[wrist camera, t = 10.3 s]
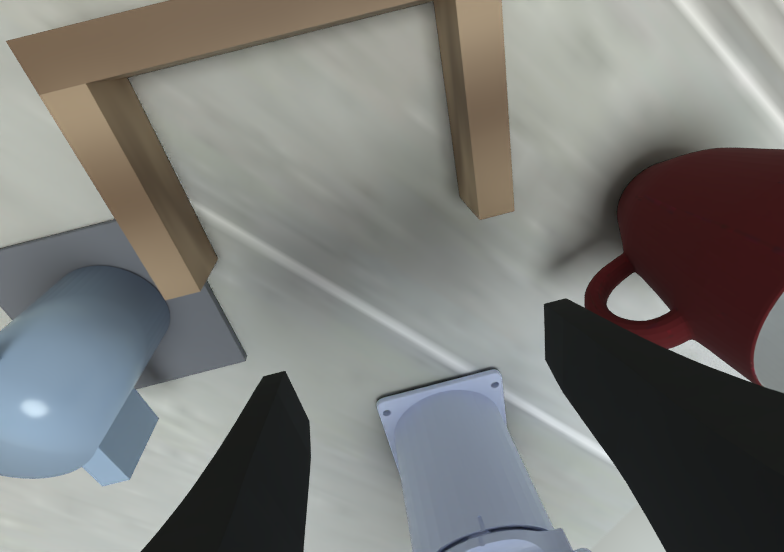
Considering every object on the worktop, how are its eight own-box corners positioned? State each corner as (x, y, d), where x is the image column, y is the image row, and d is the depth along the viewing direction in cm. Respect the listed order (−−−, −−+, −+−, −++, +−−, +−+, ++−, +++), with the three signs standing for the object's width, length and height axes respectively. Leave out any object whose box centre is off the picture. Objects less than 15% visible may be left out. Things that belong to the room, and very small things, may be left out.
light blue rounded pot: (210, 371, 22) (162, 496, 16) (122, 393, 22) (41, 526, 16) (126, 239, 18) (17, 342, 12) (17, 268, 18) (-146, 384, 12)
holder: (489, 189, 19) (514, 211, 17) (187, 266, 19) (165, 300, 17) (466, -58, 15) (496, -82, 12) (63, 42, 14) (5, 40, 12)
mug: (586, 319, 24) (727, 468, 16) (510, 238, 21) (638, 371, 12) (749, 196, 22) (1029, 294, 13) (694, 78, 18) (1026, 104, 9)
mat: (246, 356, 22) (245, 361, 22) (88, 396, 22) (84, 402, 22) (166, 206, 18) (163, 209, 17) (-33, 256, 18) (-40, 260, 17)
